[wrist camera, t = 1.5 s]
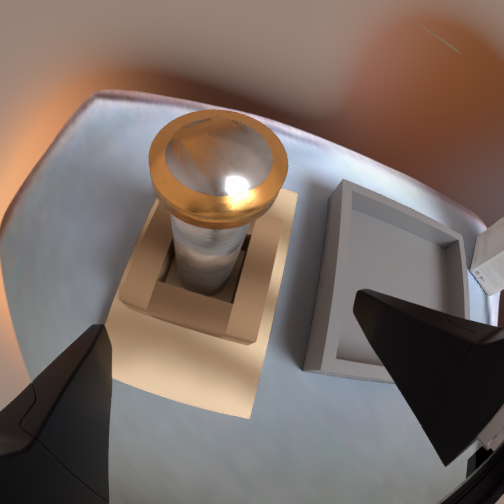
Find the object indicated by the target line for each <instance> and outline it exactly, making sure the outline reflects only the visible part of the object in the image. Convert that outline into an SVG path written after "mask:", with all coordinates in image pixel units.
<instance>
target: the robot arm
mask: <svg viewBox="0 0 504 504" xmlns="http://www.w3.org/2000/svg"><path fill="white" fill-rule="evenodd" d="M353 314H354V316H355V318H356V320H357V322H358V323H359V325H360V327H361V329H362V331H363V333H364V335H365V337H366V339H367V340H368V342H369V344H370V346H371V347H372V349H373V350H374V352H375V353H376V355H377V356H378V358H379V359H380V361H381V362H382V364H383V365H384V367H385V369H386V370H387V372H388V373H389V375H390V376H391V378H392V379H393V381H394V382H395V384H396V386H397V387H398V389H399V390H400V392H401V394H402V395H403V397H404V398H405V400H406V402H407V403H408V405H409V406H410V408H411V410H412V411H413V413H414V415H415V416H416V418H417V419H418V421H419V423H420V424H421V425H422V428H423V430H424V431H425V433H426V435H427V437H428V438H429V440H430V442H431V443H432V445H433V447H434V449H435V450H436V452H437V454H438V456H439V457H440V459H441V461H442V463H443V464H444V466H445V467H446V466H448V465H449V464H450V463H451V462H453V461H454V460H455V459H456V458H457V457H458V456H460V455H461V454H462V453H463V452H464V451H465V450H467V449H468V448H469V447H470V446H471V445H472V444H473V443H474V442H475V441H476V440H478V441H479V442H480V443H481V445H482V447H481V448H480V449H479V450H478V451H476V452H475V453H474V454H473V455H472V456H471V457H470V458H469V459H468V464H467V474H466V480H465V481H463V482H462V483H461V484H460V485H459V486H458V487H457V488H455V489H454V490H453V491H452V492H451V493H449V494H448V495H447V496H446V497H445V498H443V499H442V500H441V501H439V502H438V503H437V504H504V327H496V326H491V325H487V324H483V323H479V322H475V321H471V320H467V319H464V318H460V317H457V316H453V315H450V314H447V313H443V312H440V311H437V310H434V309H431V308H428V307H425V306H421V305H418V304H415V303H412V302H409V301H406V300H402V299H399V298H396V297H393V296H390V295H386V294H383V293H380V292H377V291H374V290H371V289H361V290H358V291H357V292H356V295H355V300H354V305H353ZM111 397H112V345H111V341H110V339H109V336H108V333H107V330H106V327H105V325H103V324H94V325H92V326H91V327H89V328H88V329H87V330H86V331H85V332H84V333H83V334H82V335H81V336H80V337H78V338H77V339H76V340H75V341H74V342H73V343H72V344H71V345H70V346H69V347H68V348H67V349H66V350H64V351H63V352H62V353H61V354H60V355H59V356H58V357H57V358H56V359H55V360H54V361H53V362H52V363H51V364H50V365H49V366H48V367H47V368H46V369H45V370H44V371H42V372H41V373H40V374H39V375H38V376H37V377H36V378H35V379H34V380H33V383H30V384H29V385H28V386H27V387H26V388H25V389H24V390H23V391H22V392H21V393H20V394H19V395H18V396H17V397H16V398H15V399H14V400H13V401H12V402H10V404H8V405H7V406H6V407H5V408H4V409H2V411H0V504H109V481H108V449H109V424H110V409H111Z"/></svg>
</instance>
